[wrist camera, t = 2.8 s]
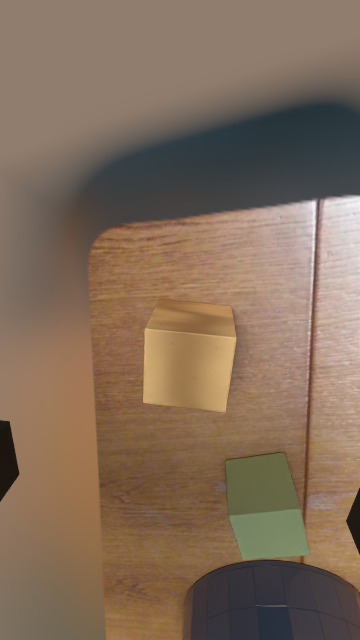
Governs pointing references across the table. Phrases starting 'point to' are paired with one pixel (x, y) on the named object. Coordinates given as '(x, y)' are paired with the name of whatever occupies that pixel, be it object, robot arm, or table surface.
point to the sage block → (265, 508)
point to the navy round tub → (271, 604)
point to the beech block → (189, 355)
